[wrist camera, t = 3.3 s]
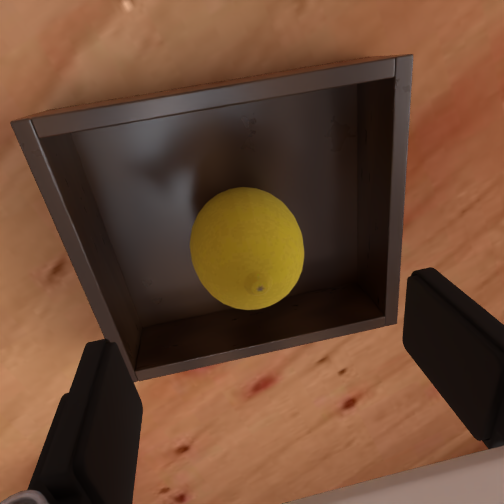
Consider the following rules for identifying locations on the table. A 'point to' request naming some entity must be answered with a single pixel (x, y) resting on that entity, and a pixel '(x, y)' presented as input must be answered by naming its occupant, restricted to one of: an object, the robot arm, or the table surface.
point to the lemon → (247, 248)
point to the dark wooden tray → (219, 180)
